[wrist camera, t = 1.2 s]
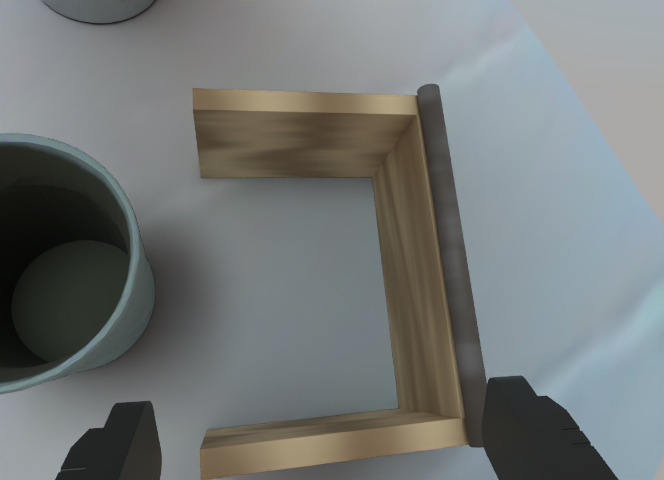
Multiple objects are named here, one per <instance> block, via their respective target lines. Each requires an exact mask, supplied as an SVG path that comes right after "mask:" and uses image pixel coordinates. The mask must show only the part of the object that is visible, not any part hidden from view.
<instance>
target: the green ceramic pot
mask: <svg viewBox="0 0 664 480" xmlns="http://www.w3.org/2000/svg"><path fill="white" fill-rule="evenodd" d="M154 304H155V284H154V278H153V274H152V271H151V267H150V264H149V262H148V260H147V258H146V256H145V251H144V246H143V243H142V241H141V236H140V231H139V227H138V223H137V219H136V216H135V213H134V211H133V209H132V206H131V204H130V201H129V199H128V197H127V195H126V194H125V192H124V190H123V189H122V187H121V186H120V184H119V183H118V181H117V180H116V179H115V178H114V177H113V176H112V175H111V174H110V173H109V172H108V171H107V170H106V168H105V167H103V166H102V165H101V164H100V163H98V162H97V161H96V160H95V159H93V158H92V157H90V156H89V155H87V154H86V153H84V152H82V151H80V150H78V149H77V148H75V147H72V146H70V145H68V144H65V143H63V142H60V141H57V140H54V139H49V138H44V137H40V136H35V135H30V134H20V133H6V134H0V394H5V393H11V392H16V391H22V390H25V389H27V388H30V387H33V386H36V385H39V384H42V383H44V382H47V381H51V380H55V379H58V378H62V377H65V376H67V375H69V374H71V373H73V372H81V371H84V370H89V369H93V368H96V367H99V366H102V365H105V364H107V363H109V362H111V361H113V360H115V359H116V358H118V357H119V356H121V355H122V354H124V353H125V352H126V351H127V350H128V349H130V348H131V347H132V346H133V345H134V344H135V343H136V342H137V340H138V339H139V338H140V336H141V335H142V334H143V332H144V330H145V329H146V327H147V325H148V323H149V320H150V317H151V315H152V312H153V309H154Z"/></svg>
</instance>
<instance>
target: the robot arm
mask: <svg viewBox="0 0 664 480" xmlns="http://www.w3.org/2000/svg"><path fill="white" fill-rule="evenodd" d="M42 1H43V2H44V3H45V4H47V5H48V6H49V7H50V8H51V9H53V10H55V11H56V12H58V13H60V14H62V15H64V16H66V17H69V18H72V19H75V20H78V21H83V22H90V23H111V22H116V21H121V20H125V19H128V18H130V17H133V16H135V15H137V14H139V13H140V12H142V11H143V10H145V9H146V8H148V7H149V6H150V5H151V3H152V2H153V1H154V0H42ZM481 434H482V441H483V445H484V449H485V452H486V454H487V456H488V458H489V460H490V462H491V464H492V467H493V469H494V471H495V473H496V475H497V477H498V479H499V480H618V478H617V477H616V476H615V474H614V473H613V472H612V470H611V469H610V468H609V466H608V465H607V464H606V462H605V461H604V460H603V458H602V457H601V456H600V454H599V453H598V452H597V450H596V449H595V448H594V446H591V444H590V441H589V440H588V438H587V437H586V436H585V434H584V433H583V432H582V431H580V429H579V426H578V425H577V424H576V422H575V421H574V420H573V418H572V417H571V416H570V414H569V413H568V412H567V410H565V409H564V408H563V407H561V406H560V405H559V404H557V403H556V402H555V401H553V400H552V399H551V398H549V397H548V396H537V395H536V393H535V392H534V390H533V389H532V388H531V386H530V385H529V383H528V382H527V380H526V379H525V378H524V377H523V376H507V377H493V378H490V379H489V380H488V383H487V389H486V397H485V404H484V411H483V418H482V426H481ZM161 464H162V456H161V448H160V442H159V437H158V432H157V426H156V421H155V416H154V410H153V406H152V403H151V402H150V401H140V402H126V403H116V404H115V405H114V406H113V408H112V410H111V412H110V414H109V417H108V419H107V421H106V424H105V426H104V428H93V429H89V430H88V431H87V432H86V433H85V434H84V435H83V436H82V437H81V438H80V439H79V440H78V441H77V442H76V443H75V444H74V445H73V446H72V447H71V449H70V451H69V453H68V455H67V457H66V459H65V461H64V463H63V465H62V467H61V472H59V473H58V475H57V477H56V479H55V480H160V475H161Z"/></svg>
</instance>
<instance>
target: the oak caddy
mask: <svg viewBox="0 0 664 480" xmlns="http://www.w3.org/2000/svg"><path fill="white" fill-rule="evenodd" d="M417 94H418V96H416V95H385V94H354V93H323V92H292V91H261V90H231V89H200V88H193V113H194V122H195V131H196V139H197V148H198V156H199V165H200V174H201V178H258V177H372V181H373V190H374V199H375V207H376V216H377V224H378V233H379V242H380V250H381V259H382V267H383V276H384V284H385V293H386V302H387V310H388V319H389V327H390V336H391V345H392V353H393V362H394V370H395V379H396V387H397V396H398V405H399V408H398V409H389V410H380V411H371V412H362V413H353V414H344V415H336V416H327V417H318V418H309V419H300V420H291V421H282V422H273V423H264V424H255V425H246V426H237V427H228V428H219V429H210V430H207V431H206V434H205V437H204V440H203V443H202V445H201V448H200V469H201V480H206V479H213V478H221V477H228V476H236V475H244V474H251V473H259V472H266V471H274V470H281V469H289V468H296V467H304V466H311V465H319V464H326V463H334V462H342V461H349V460H357V459H364V458H372V457H379V456H387V455H394V454H402V453H409V452H417V451H424V450H432V449H440V448H447V447H455V446H462V445H469V446H470V447H484V445H483V441H482V434H481V426H482V418H483V411H484V404H485V397H486V389H487V383H486V377H485V370H484V364H483V358H482V352H481V345H480V339H479V333H478V327H477V321H476V314H475V308H474V302H473V296H472V289H471V283H470V277H469V271H468V264H467V258H466V252H465V246H464V239H463V233H462V227H461V221H460V215H459V208H458V202H457V196H456V190H455V183H454V177H453V171H452V165H451V158H450V152H449V146H448V140H447V134H446V127H445V121H444V115H443V109H442V102H441V96H440V90H439V86H438V85H436V84H427V85H424V86H422V87H420V88H419V89H418V90H417Z"/></svg>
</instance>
